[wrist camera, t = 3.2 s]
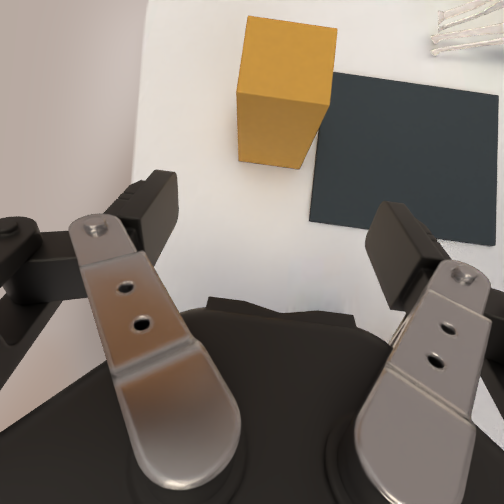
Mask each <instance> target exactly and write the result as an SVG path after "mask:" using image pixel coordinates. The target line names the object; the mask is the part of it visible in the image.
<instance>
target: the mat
mask: <svg viewBox="0 0 504 504" xmlns="http://www.w3.org/2000/svg"><path fill="white" fill-rule="evenodd" d="M498 103H499V96H498V95H491V94H484V93H477V92H470V91H463V90H456V89H449V88H443V87H436V86H429V85H422V84H415V83H408V82H401V81H394V80H387V79H380V78H373V77H366V76H359V75H352V74H345V73H338V72H333V78H332V88H331V97H330V105H329V108H328V110H327V112H326V114H325V116H324V118H323V120H322V122H321V125H320V127H319V133H318V143H317V152H316V161H315V170H314V180H313V189H312V198H311V208H310V217H309V221H311V222H319V223H326V224H333V225H341V226H348V227H356V228H363V229H369V228H370V226H371V224H372V221H373V219H374V217H375V214H376V212H377V210H378V207H379V205H380V204H381V203H382V202H383V201H389V202H397V203H404V204H405V205H406V206H407V208H408V209H409V210H410V212H411V213H412V214H413V216H414V217H415V218H416V219H418V220H419V221H420V222H422V223H423V224H425V225H426V226H427V228H428V229H429V230H430V232H431V233H432V235H434V237H435V238H436V239H444V240H451V241H459V242H466V243H473V244H481V245H488V246H495V243H496V196H497V150H498Z"/></svg>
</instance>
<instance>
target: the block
mask: <svg viewBox="0 0 504 504" xmlns="http://www.w3.org/2000/svg"><path fill="white" fill-rule="evenodd" d="M336 40H337V29H336V28H330V27H323V26H316V25H309V24H302V23H295V22H288V21H281V20H275V19H268V18H261V17H254V16H248V18H247V24H246V31H245V38H244V44H243V51H242V58H241V64H240V71H239V78H238V84H237V91H236V96H237V126H238V157H239V161H244V162H251V163H258V164H265V165H273V166H280V167H287V168H294V169H300V167H301V165H302V163H303V161H304V159H305V156H306V154H307V152H308V150H309V148H310V146H311V144H312V142H313V139H314V137H315V135H316V133H317V131H318V129H319V127H320V125H321V122H322V120H323V118H324V116H325V114H326V112H327V110H328V108H329V105H330V97H331V88H332V78H333V68H334V59H335V49H336Z"/></svg>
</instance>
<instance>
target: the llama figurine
mask: <svg viewBox="0 0 504 504" xmlns="http://www.w3.org/2000/svg"><path fill="white" fill-rule="evenodd" d="M488 1H490V0H474V1H472V2H469V3H466V4H464V5H461V6H458V7H456V8H453V9H450V10H448V11H445V12H443V11H438V25H439V24H440V23H441V22H442V21H443V20H445V19H448V18H451V17H454V16H456V15H459V14H462V13H465V12H467V11H470V10H473V9H476V8H478V7H480V6H482V5H484V4H486V2H488ZM503 7H504V0H500V1H498V2H497V3H495V4H493V5H491V6H490V7H488V8H486V9H485V10H483V11H481V12H479V13H477V14H474V15H471V16H469V17H466V18H463V19H460V20H457V21H454V22H452V23H449V24H446V25H443V26H441V27H440V26H438V33H439V32H440V30H444V29H446V28H449V27H452V26H455V25H458V24H461V23H464V22H466V21H469V20H472V19H475V18H478V17H480V16H482V15H486V14H488V13H490V12H493V11H495V10H497V9H500V8H503ZM501 33H504V23H500V24H495V25H491V26H486V27H480V28H474V29H468V30H462V31H456V32H449V33H443V34H437V35H432V36H431V39H432V40H433V42H434V43H435V45H436V44H437V43H438V42H439V41H440V40H444V39H452V38H460V37H468V36H476V35H486V34H501ZM497 44H504V37H503V38H498V39H493V40H487V41H482V42H475V43H468V44H462V45H455V46H449V47H442V48H437V49H433V50H431V53H432V54H433V55H434V56H435V57H436V56H437V55H438V54H439V53H440V52H444V51H451V50H458V49H465V48H472V47H479V46H487V45H497Z"/></svg>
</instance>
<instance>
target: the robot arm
mask: <svg viewBox="0 0 504 504" xmlns="http://www.w3.org/2000/svg"><path fill="white" fill-rule="evenodd" d="M178 212H179V206H178V185H177V175H176V173H175V172H170V171H163V170H154V171H153V173H152V174H151V175H150V176H149V177H148V178H147V179H146V181H143V180H140V181H138V182H136V183H134V184H131V185H130V186H129V187H128V188H127V189H126V190H125V191H124V193H122V194H121V195H120V196H119V197H118V199H116V201H114V203H113V204H112V205H111V206H110V207H109V208H108V209H107V210H106V211H105V212H104V213H103V214H91V215H87V216H84V217H81V218H79V219H77V220H75V221H74V222H72V223H71V225H70V226H69V231H57V232H40V231H39V228H38V226H37V223H36V222H35V221H34V220H33V219H30V218H27V217H6V218H1V219H0V288H1V287H2V286H3V288H4V289H5V291H6V294H5V295H4V296H3V297H2V298H1V299H0V390H1V388H2V387H3V386H4V384H5V383H6V381H7V380H8V379H9V377H10V376H11V374H12V373H13V371H14V370H15V369H16V367H17V366H18V364H19V363H20V361H21V360H22V359H23V357H24V356H25V354H26V353H27V351H28V350H29V348H30V347H31V346H32V344H33V343H34V341H35V340H36V338H37V337H38V335H39V334H40V333H41V331H42V330H43V328H44V327H45V325H46V324H47V323H48V321H49V320H50V318H51V317H52V315H53V314H54V313H55V311H56V310H57V308H58V307H59V306H60V304H61V303H62V301H63V300H71V299H80V298H88V299H89V302H90V306H91V309H92V312H93V316H94V319H95V323H96V326H97V329H98V333H99V336H100V339H101V343H102V346H103V349H104V352H105V356H106V359H107V360H106V361H104V362H103V363H102V364H100V365H99V366H97V367H96V368H94V369H93V370H91V371H90V372H88V373H87V374H85V375H84V376H82V377H81V378H79V379H78V380H77V381H75V382H74V383H72V384H71V385H69V386H68V387H66V388H65V389H63V390H62V391H60V392H59V393H57V394H56V395H55V396H53V397H52V398H50V399H49V400H47V401H46V402H44V403H43V404H42V405H40V406H38V407H37V408H35V409H34V410H33V411H31V412H30V413H28V414H27V415H25V416H24V417H22V418H21V419H20V420H18V421H16V422H15V423H13V424H12V425H11V426H9V427H8V428H6V429H5V430H3V431H2V432H0V504H504V451H503V450H502V449H501V448H500V447H499V446H498V445H497V444H496V443H495V442H494V441H493V440H492V439H491V438H489V437H488V436H487V435H486V434H485V433H484V432H483V431H482V430H481V429H480V428H479V427H478V426H477V425H475V424H474V423H473V421H472V419H471V413H472V409H473V404H474V400H475V396H476V391H477V387H478V382H479V378H480V376H481V378H482V380H483V382H484V384H485V385H486V387H487V389H488V391H489V393H490V395H491V397H492V399H493V401H494V402H495V404H496V406H497V408H498V410H499V412H500V414H501V416H502V418H503V419H504V292H502V291H499V290H496V289H492V288H491V283H490V281H489V279H488V278H487V277H486V276H485V275H484V274H483V273H482V272H481V271H479V270H478V269H476V268H474V267H473V266H471V265H469V264H466V263H463V262H460V261H456V260H452V259H451V258H450V257H449V255H448V254H447V253H446V251H445V250H444V249H443V247H442V246H441V245H440V243H439V242H437V239H436V238H435V237H434V235H432V233H431V232H430V230H429V229H428V228H427V226H426V225H425V224H423V223H422V222H420V221H419V220H418V219H416V218H415V217H414V216H413V214H412V213H411V212H410V210H409V209H408V208H407V206H406V205H405V204H404V203H397V202H389V201H383V202H382V203H381V204H380V205H379V207H378V210H377V212H376V214H375V217H374V219H373V221H372V224H371V226H370V228H369V231H368V233H367V236H366V240H365V248H366V251H367V254H368V256H369V259H370V261H371V264H372V266H373V269H374V271H375V274H376V276H377V278H378V281H379V283H380V286H381V288H382V291H383V293H384V296H385V298H386V301H387V303H388V306H389V308H390V310H397V311H405V312H406V315H405V316H404V318H403V319H402V321H401V323H400V324H399V326H398V328H397V329H396V331H395V333H394V335H393V336H392V338H391V340H390V341H389V343H388V344H387V343H386V342H385V341H383V340H382V339H380V338H379V337H377V336H375V335H373V334H372V333H370V332H368V331H365V330H363V329H361V328H358V327H356V323H355V320H354V316H353V315H349V314H341V313H333V312H325V311H306V312H294V313H279V312H275V311H273V310H270V309H267V308H264V307H261V306H258V305H255V304H252V303H249V302H246V301H240V300H232V299H225V298H217V297H208V301H207V305H206V307H203V308H197V309H191V310H188V311H184V312H181V313H179V311H178V309H177V308H176V306H175V304H174V302H173V301H172V299H171V297H170V295H169V294H168V292H167V290H166V288H165V287H164V285H163V283H162V281H161V279H160V278H159V276H158V274H157V272H156V271H155V269H154V266H155V264H156V262H157V260H158V258H159V256H160V254H161V252H162V250H163V248H164V246H165V244H166V242H167V240H168V238H169V237H170V235H171V233H172V231H173V229H174V227H175V225H176V223H177V219H178Z"/></svg>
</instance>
